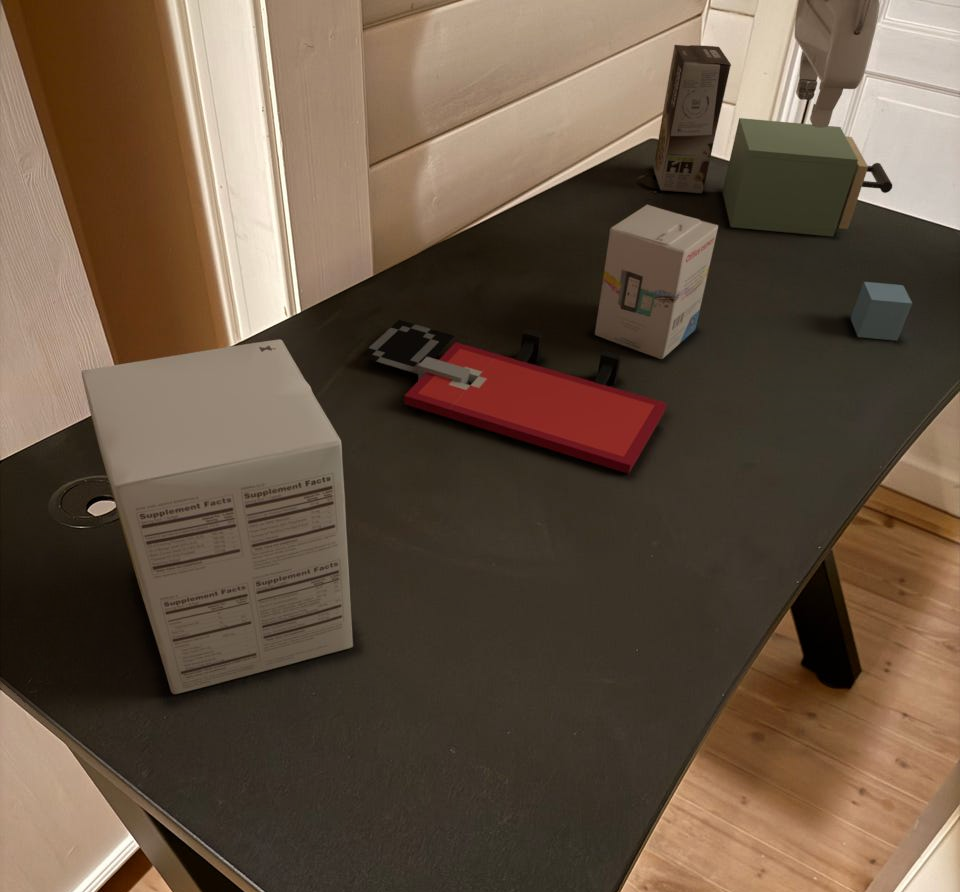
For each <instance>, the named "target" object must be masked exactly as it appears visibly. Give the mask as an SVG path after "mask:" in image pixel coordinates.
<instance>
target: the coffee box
mask: <svg viewBox="0 0 960 892" xmlns="http://www.w3.org/2000/svg"><path fill="white" fill-rule="evenodd" d="M731 67H732V64H731V62H730V60H729V59H728V58H727V56H726V55H725V53H724V52H723V51H722V48H720V46H714V45H697V44H696V45H693V44H691V45H684V44H674V46H673V51H672V58H671V64H670V68H669V74H668V80H667V85H666V92H665V98H664V104H663V109H662V110H663V111H662V115H661V123H660V127H659V128H660V129H659V134H658V140H657V146H656V150H655V158H654V164H653V172H654V175H655V178H656V181H657V184H658V187H659V190H660V191H663V192H664V191H665V192H676V193H677V192H680V193H692V194H703V192H704V189H705V184H706V180H707V176H708V170H709V166H710V161H711V157H712V152H713V147H714V142H715V138H716V133H717V129H718V125H719V119H720V116H721V111H722V107H723V101H724V98H725V92H726V89H727V84H728V80H729V75H730V70H731Z"/></svg>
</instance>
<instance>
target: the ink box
mask: <svg viewBox="0 0 960 892" xmlns="http://www.w3.org/2000/svg"><path fill="white" fill-rule="evenodd" d="M718 230H719V224H716V223H712V222H708V221H705V220H701V219H699V218H695V217H692V216H687V215H684V214H681V213H677V212H674V211H671V210H667V209H663V208H660V207H657V206H654V205H650V204H645V205H644V206H643V207H641V208H640V209H638V210H637V211H635V212H633V213H631V214H630V215H629V216H627V217H626V218H624V219H623V220H621V221H619V222H618V223H616V224H614V225H613V226H611V227H610V229H609V234H608V235H609V236H608V243H607V249H606V256H605V263H604V271H603V275H602V277H603V278H602V282H601V283H602V284H601V289H600V290H601V291H600V297H599V303H598V305H599V306H598V310H597V316H596V323H595V331H594V335H595V336H597V337H599V338H602V339H605V340H607V341H609V342H613V343H615V344H618V345H620V346H623V347H625V348H629V349H632V350H634V351H637V352H640V353H642V354H645V355H648V356H651V357H653V358H655V359H659V360H663V359H664V358H666V356H668V355H669V354H670V353H671V352H672V351H673V350H674V349H675V348H677V347H678V346H679V345H680V344H681V343H682V342H683V341H685V340H686V339H687V338H688V337H689V336H690V335H691V334H693V333H694V332H695V331H696V330H697V325H698V320H699V316H700V312H701V311H700V310H701V306H702V302H703V299H704V294H705V289H706V284H707V279H708V275H709V270H710V265H711V261H712V257H713V252H714V248H715V244H716V243H715V242H716V238H717V234H718Z"/></svg>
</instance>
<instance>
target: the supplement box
mask: <svg viewBox="0 0 960 892" xmlns="http://www.w3.org/2000/svg"><path fill="white" fill-rule="evenodd" d="M81 379H82V382H83V383H82V384H83V387H84V391H85V396H86V400H87V405H88V408H89V412H90V417H91V420H92V424H93V428H94V432H95V436H96V440H97V444H98V447H99V452H100V455H101V458H102V462H103V465H104V469H105V472H106V476H107V479H108V483H109V486H110V490H111V493H112V497H113V500H114V504H115V509H116V512H117V514H118V519H119V521H120V525H121V529H122V532H123V535H124V538H125V542H126V545H127V549H128V552H129V556H130V559H131V563H132V566H133V570H134V572H135V577H136V580H137V584H138V587H139V590H140V594H141V597H142V600H143V603H144V606H145V610H146V613H147V616H148V619H149V623H150V626H151V630H152V632H153V636H154V638H155V642H156V645H157V648H158V652H159V655H160V658H161V663H162V665H163V668H164V672H165V675H166V679H167V682H168V686H169V690H170V692H171V693H172V695H179V694H182V693H186V692H191V691H194V690H198V689H202V688H205V687H210V686H214V685H217V684H221V683H225V682H229V681H231V680H232V681H233V680H235V679H236V680H237V679H240V678H243V677H247V676H252V675H254V674H258V673H262V672H266V671H270V670H273V669H277V668H281V667H285V666H289V665H293V664H296V663H299V662H303V661H306V660H307V661H308V660H312V659H315V658H318V657H322V656H326V655H330V654H334V653H338V652H341V651H344V650H348V649H351V648H353V647H354V641H353V640H354V639H353V622H352V608H351V605H352V604H351V589H350V573H349V572H350V570H349V567H350V566H349V552H348V536H347V533H348V532H347V514H346V496H345V493H346V492H345V480H344V479H345V478H344V466H343V463H344V462H343V449H342V447H343V445H342V440H341V438H340V437H339V435H338V433H337V431H336V429H335V428H334V426H333V425H332V423H331V421H330V419H329V418H328V417H327V415H326V413H325V411H324V409H323V408H322V405H321V404H320V403H319V401H318V399H317V398H316V396H315V394H314V392H313V390H312V387H311V386H310V384H309V383H308V382H307V380H306V379H305V378H304V376H303V374H302V372H301V370H300V368H299V367H298V365H297V364H296V362H295V360H294V359H293V357H292V355H291V353H290V352H289V350H288V348H287V346H286V345H285V343H284V341H283V340H282V339H273V340H264V341H259V342H250V343H245V344H239V345H232V346H226V347H219V348H213V349H207V350H200V351H194V352H189V353H182V354H177V355H170V356H169V355H168V356H163V357H158V358H157V357H156V358H152V359H145V360H139V361H133V362H127V363H120V364H114V365H107V366H102V367H95V368H91V369H82V370H81Z"/></svg>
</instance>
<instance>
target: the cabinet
mask: <svg viewBox="0 0 960 892" xmlns="http://www.w3.org/2000/svg"><path fill="white" fill-rule="evenodd" d="M732 143H733V144H732V148H731V152H730V157H729V162H728V165H727V169H726V175H725V178H724V183H723V187H722V191H721V192H722V197H723V200H724V205H725V209H726V214H727V219H728V222H729V227H730V228H734V229H735V228H736V229H746V230H755V231H768V232H778V233H790V234H799V235H800V234H801V235H811V236H821V237H834V236H835V233H836V229H837V228H838V225H837V224H838V221H839V218H840V214H841V211H842V208H843V205H844V202H845V199H846V196H847V193H848V189H849V186H850V183H851V180H852V177H853V174H854V171H855V168H856V164H857V161H858V159H857V157H856V155H855V153H854V151H853V150H852V148H851V146H850V144H849V142H848V140H847V138H846V135H845V133H844V131H843V129H842V127H841V126H833V125H828V126H827V127H825V128H823V127H814V126H813V125H812V123H800V122H788V121H777V120H765V119H756V118H755V119H754V118H745V117H739V118H738V122H737V126H736V131H735V135H734V138H733V142H732Z"/></svg>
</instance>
